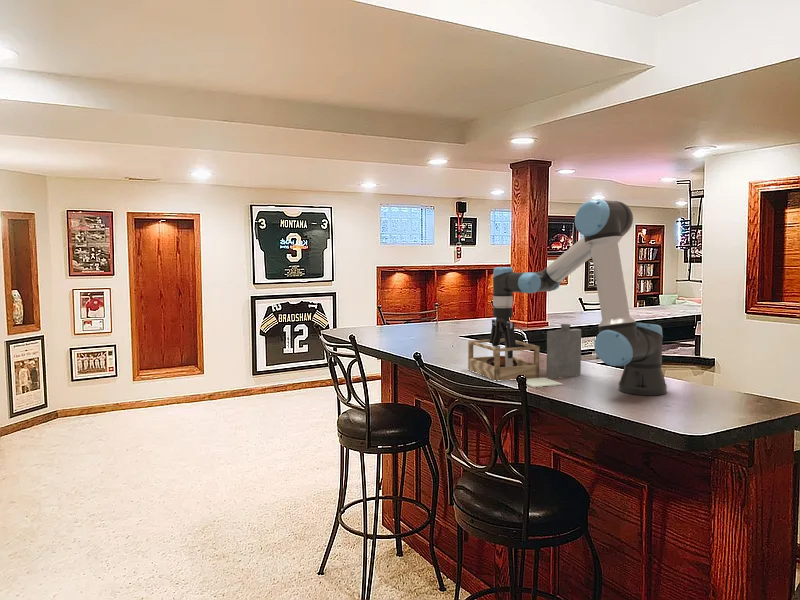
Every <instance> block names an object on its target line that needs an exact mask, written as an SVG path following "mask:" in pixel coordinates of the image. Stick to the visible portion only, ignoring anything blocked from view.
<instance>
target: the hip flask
mask: <svg viewBox="0 0 800 600" xmlns="http://www.w3.org/2000/svg"><path fill="white" fill-rule="evenodd" d="M560 327H561V328H560V329H553V330H548V331H546V378H547V377H548V379H550V378H554V379H560V378H559V377H565V378H569V377H568V376H572V377H577V376H576V375H578V376H581V375H580V374H582V373H581V372H582V371H581V370H582V368H581V366H582V364H581V362H582V361H581V360H582V359H581V358H582V329H581V328H572V329H571V328H570V327H571V324H570V323H561V324H560Z"/></svg>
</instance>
